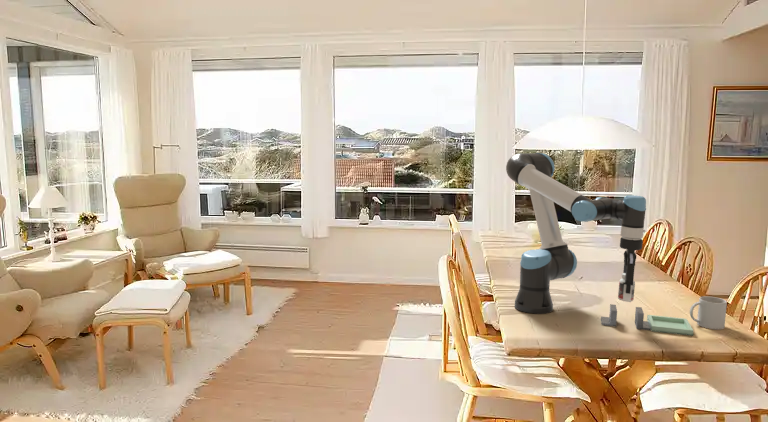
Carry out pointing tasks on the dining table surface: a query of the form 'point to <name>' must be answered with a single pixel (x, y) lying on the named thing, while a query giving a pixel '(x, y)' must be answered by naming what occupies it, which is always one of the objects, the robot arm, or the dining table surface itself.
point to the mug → (710, 312)
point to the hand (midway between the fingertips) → (626, 298)
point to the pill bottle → (621, 288)
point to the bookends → (638, 318)
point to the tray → (670, 325)
